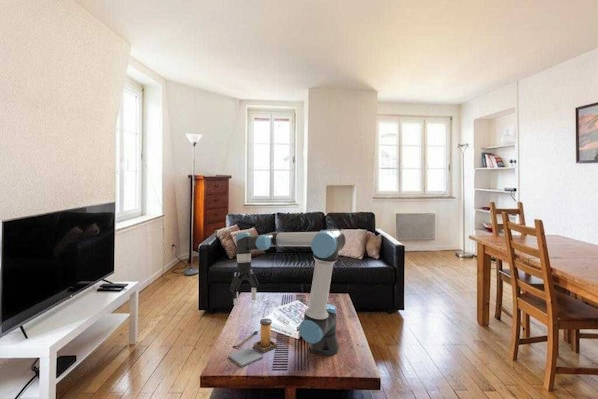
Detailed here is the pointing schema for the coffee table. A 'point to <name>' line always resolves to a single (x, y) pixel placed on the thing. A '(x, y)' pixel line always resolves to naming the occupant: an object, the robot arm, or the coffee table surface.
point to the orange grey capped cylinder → (265, 332)
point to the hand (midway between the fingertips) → (245, 302)
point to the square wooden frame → (265, 348)
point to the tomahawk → (245, 340)
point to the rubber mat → (245, 357)
